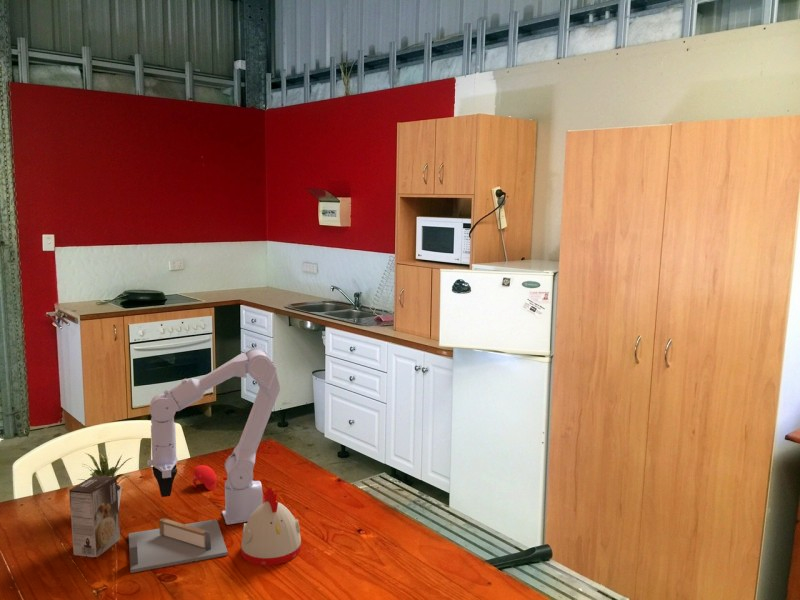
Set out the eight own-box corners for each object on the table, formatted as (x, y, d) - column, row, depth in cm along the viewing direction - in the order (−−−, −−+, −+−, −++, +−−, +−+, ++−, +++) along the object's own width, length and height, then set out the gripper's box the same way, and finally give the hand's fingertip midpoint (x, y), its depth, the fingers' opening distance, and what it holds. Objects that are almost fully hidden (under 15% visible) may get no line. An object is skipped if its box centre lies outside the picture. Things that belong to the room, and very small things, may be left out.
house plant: (60, 517, 176) (57, 457, 174) (102, 497, 189) (99, 440, 186) (103, 528, 171) (99, 465, 168) (143, 505, 183) (140, 447, 181)
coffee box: (97, 536, 166) (94, 474, 164) (121, 539, 165) (117, 476, 163) (72, 555, 157) (68, 489, 155) (97, 558, 156) (93, 492, 154)
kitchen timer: (250, 570, 152) (249, 506, 150) (234, 543, 164) (233, 483, 162) (309, 556, 158) (308, 495, 156) (290, 531, 170) (289, 474, 168)
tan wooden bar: (207, 545, 160) (207, 531, 159) (203, 548, 159) (203, 533, 158) (164, 531, 166) (163, 518, 166) (159, 534, 165) (159, 520, 165)
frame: (216, 522, 174) (216, 503, 174) (227, 555, 158) (227, 534, 157) (128, 536, 166) (127, 517, 166) (130, 573, 150) (129, 551, 149)
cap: (184, 476, 196) (192, 470, 192) (200, 463, 200) (208, 458, 196) (201, 498, 196) (209, 493, 192) (216, 485, 200) (225, 480, 196)
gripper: (145, 435, 174) (147, 486, 176) (148, 454, 160) (150, 509, 162) (174, 432, 176) (176, 482, 178) (179, 450, 163) (181, 504, 165)
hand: (165, 495), depth 170 cm, fingers closed
